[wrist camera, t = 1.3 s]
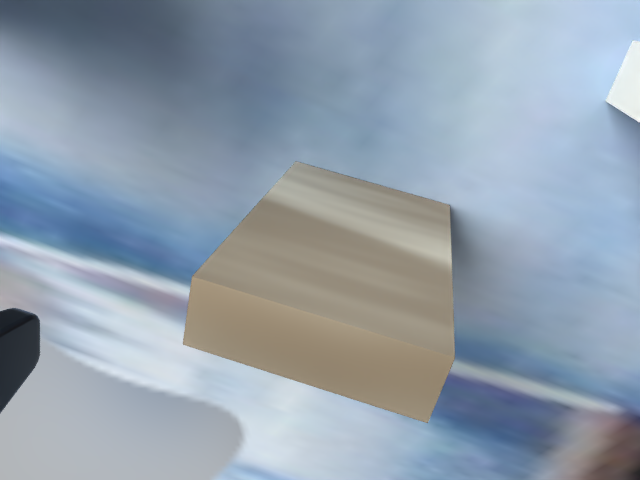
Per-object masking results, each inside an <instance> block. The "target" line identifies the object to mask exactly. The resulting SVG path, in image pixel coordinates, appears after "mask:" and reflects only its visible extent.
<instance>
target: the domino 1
mask: <svg viewBox="0 0 640 480" xmlns="http://www.w3.org/2000/svg"><path fill="white" fill-rule="evenodd" d="M183 345H186V346H189V347H192V348H195V349H198V350H202V351H205V352H208V353H211V354H214V355H217V356H220V357H223V358H226V359H230V360H233V361H236V362H239V363H242V364H245V365H248V366H251V367H255V368H258V369H261V370H264V371H267V372H270V373H273V374H276V375H279V376H283V377H286V378H289V379H292V380H295V381H298V382H301V383H304V384H307V385H311V386H314V387H317V388H320V389H323V390H326V391H329V392H332V393H335V394H339V395H342V396H345V397H348V398H351V399H354V400H357V401H360V402H363V403H367V404H370V405H373V406H376V407H379V408H382V409H385V410H388V411H391V412H395V413H398V414H401V415H404V416H407V417H410V418H413V419H416V420H419V421H423V422H426V423H428V421H429V419H430V416H431V414H432V412H433V409H434V407H435V404H436V402H437V400H438V397H439V395H440V392H441V390H442V388H443V385H444V383H445V380H446V378H447V376H448V373H449V371H450V368H451V366H452V364H453V361H454V359H455V342H454V313H453V284H452V255H451V226H450V205H448V204H444V203H441V202H437V201H434V200H430V199H427V198H423V197H420V196H416V195H413V194H409V193H406V192H402V191H399V190H395V189H391V188H388V187H384V186H381V185H377V184H374V183H370V182H367V181H363V180H360V179H356V178H353V177H349V176H346V175H342V174H339V173H335V172H332V171H328V170H325V169H321V168H318V167H314V166H310V165H307V164H303V163H300V162H296V161H295V163H294V164H293V165H292V166H291V167H290V168H289V169H288V170H287V171H286V173H285V174H284V175H283V176H282V177H281V178H280V179H279V180H278V181H277V183H276V184H275V185H274V186H273V187H272V188H271V189H270V190H269V191H268V193H267V194H266V195H265V196H264V197H263V198H262V199H261V200H260V201H259V203H258V204H257V205H256V206H255V207H254V208H253V209H252V210H251V211H250V213H249V214H248V215H247V216H246V217H245V218H244V219H243V220H242V221H241V223H240V224H239V225H238V226H237V227H236V228H235V229H234V230H233V231H232V233H231V234H230V235H229V236H228V237H227V238H226V239H225V240H224V241H223V243H222V244H221V245H220V246H219V247H218V248H217V249H216V250H215V251H214V253H213V254H212V255H211V256H210V257H209V258H208V259H207V260H206V261H205V263H204V264H203V265H202V266H201V267H200V268H199V269H198V270H197V271H196V273H195V274H194V275H193V276H192V281H191V288H190V295H189V303H188V310H187V317H186V324H185V332H184V339H183Z"/></svg>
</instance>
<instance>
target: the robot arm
mask: <svg viewBox="0 0 640 480" xmlns="http://www.w3.org/2000/svg"><path fill="white" fill-rule="evenodd" d="M39 356H40V320H39V318H38V316H37V315H35V314H33V313H30V312H27V311H24V310H21V309H17V308H11V309H7V310H3V311H0V413H1V412H2V410H3V409H4V408H5V406H6V405H7V404H8V402H9V401H10V400H11V398H12V397H13V396H14V394H15V393H16V392H17V390H18V389H19V388H20V387H21V385H22V384H23V382H24V381H25V380H26V379H27V377H28V376H29V375H30V373H31V372H32V371H33V369H34V368H35V366H36V364H37V362H38V359H39Z"/></svg>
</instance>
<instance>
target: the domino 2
mask: <svg viewBox="0 0 640 480" xmlns="http://www.w3.org/2000/svg"><path fill="white" fill-rule="evenodd" d="M606 102H608V103H609V104H611V105H612V106H614V107H616V108H617V109H619V110H620V111H622V112H624V113H625V114H627V115H628V116H630V117H631V118H633V119H635V120H636V121H638V122H639V123H640V42H639V41H634V40H633V41H632V43H631V45H630V48H629V50H628V52H627V54H626V56H625V59H624V61H623V63H622V65H621V68H620V70H619V72H618V74H617V76H616V79H615V81H614V83H613V85H612V87H611V90H610V92H609V94H608V96H607V99H606Z"/></svg>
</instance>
